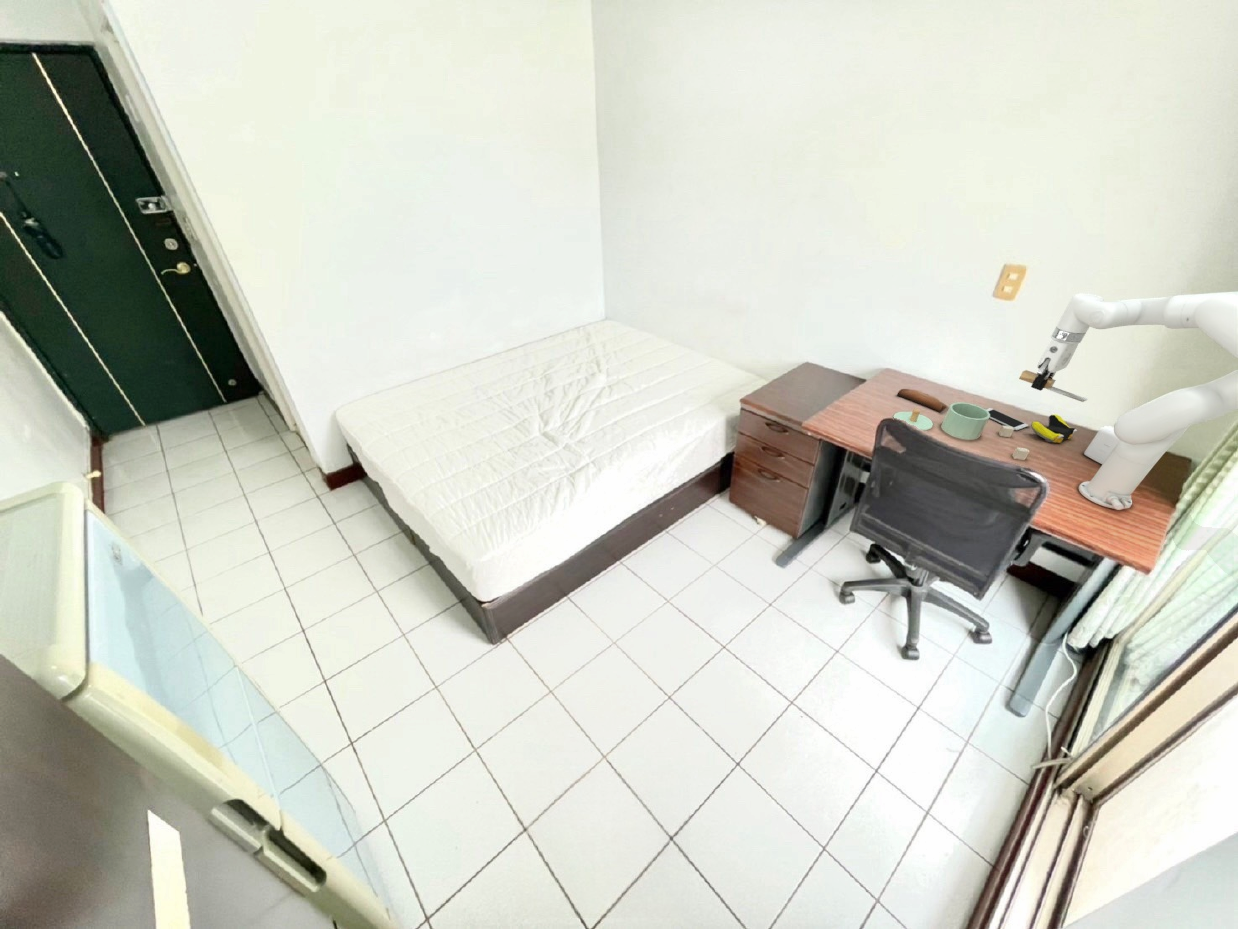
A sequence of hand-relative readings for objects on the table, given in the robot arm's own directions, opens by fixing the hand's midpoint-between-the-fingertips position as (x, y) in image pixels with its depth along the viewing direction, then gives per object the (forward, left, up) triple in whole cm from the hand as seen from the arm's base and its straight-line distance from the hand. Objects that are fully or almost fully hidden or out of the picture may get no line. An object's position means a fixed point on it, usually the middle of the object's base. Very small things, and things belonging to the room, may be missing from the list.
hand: (1038, 387), depth 163 cm
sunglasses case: (+24, +24, -22) cm, 41 cm away
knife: (-2, -2, +1) cm, 3 cm away
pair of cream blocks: (-3, 0, -22) cm, 22 cm away
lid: (+5, +31, -21) cm, 38 cm away
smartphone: (+17, -3, -22) cm, 28 cm away
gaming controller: (+9, -16, -22) cm, 29 cm away
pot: (+3, +15, -22) cm, 27 cm away
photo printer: (-5, -26, -22) cm, 35 cm away
